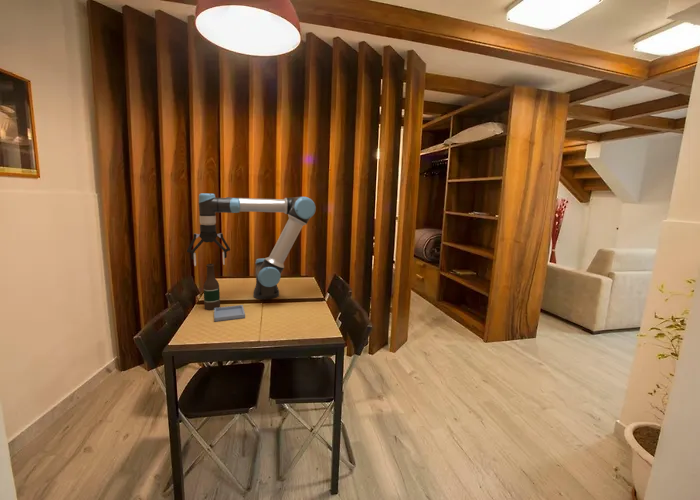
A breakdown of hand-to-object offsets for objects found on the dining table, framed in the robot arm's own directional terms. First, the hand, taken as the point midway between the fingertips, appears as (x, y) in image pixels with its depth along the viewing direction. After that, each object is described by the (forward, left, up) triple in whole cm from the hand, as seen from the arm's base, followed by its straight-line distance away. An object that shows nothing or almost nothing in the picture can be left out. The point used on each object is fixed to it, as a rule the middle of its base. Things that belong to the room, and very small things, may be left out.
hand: (209, 264), depth 162 cm
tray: (-8, +13, -24) cm, 28 cm away
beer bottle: (0, 0, -24) cm, 24 cm away
